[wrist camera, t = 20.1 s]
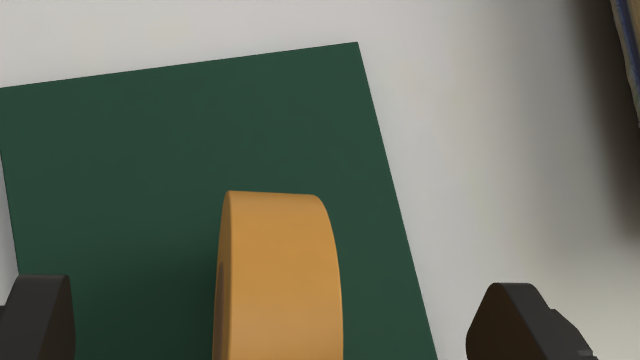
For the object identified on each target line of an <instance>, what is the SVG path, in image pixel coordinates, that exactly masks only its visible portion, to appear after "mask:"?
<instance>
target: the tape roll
mask: <svg viewBox="0 0 640 360" xmlns="http://www.w3.org/2000/svg"><path fill="white" fill-rule="evenodd" d="M212 360H343V313H342V296H341V284H340V273H339V265H338V258H337V251H336V246H335V240H334V235H333V231H332V227H331V223H330V220H329V217H328V214H327V211H326V209H325V207H324V205H323V203H322V201H321V200H320V199H319V198H318V197H317V196H315V195H310V194H290V193H270V192H249V191H227V192H226V194H225V197H224V202H223V208H222V216H221V225H220V235H219V246H218V259H217V273H216V288H215V306H214V326H213V349H212Z"/></svg>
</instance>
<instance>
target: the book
mask: <svg viewBox="0 0 640 360" xmlns="http://www.w3.org/2000/svg"><path fill="white" fill-rule="evenodd" d="M610 2H611V4H612V11H613V15H614V16H613V17H614V21H615V25H616V29H617V33H618V34H619V38H620V41H621V45H622V48H621V50H622V52H623V53H624V58H625V63H626V67H625V68H626V73H627V79H628V82H629V84H630V87H631V90H632V97H633V103H634V105H635V108H636V112H637V118H638V126H639V128H640V0H610Z"/></svg>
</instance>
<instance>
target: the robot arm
mask: <svg viewBox="0 0 640 360" xmlns="http://www.w3.org/2000/svg"><path fill="white" fill-rule="evenodd" d="M75 345H76V332H75V323H74V313H73V304H72V294H71V285H70V279H69V276H68V275H57V274H20V275H19V276H18V277H17V279H16V280H15V282H14V285H13V287H12V290H11V292H10V294H9V297H8V299H7V302H6V304H5V306H0V360H74V356H75ZM466 354H467V359H468V360H598V359H597V357H596V356H593V351H592V350H591V348H590V347H589V345H588V344H587V342H586V341H585V339H584V338H583V336H582V335H581V334H580V332H579V331H578V329H577V328H576V327H575V326H573V325H572V324H571V323H570V322H569V321H568V320H567V319H566V318H564V317H563V316H562V315H561V314H560V313H559V312H558V311H557V310H555V309H550V308H549V307H548V305H547V304H546V302H545V301H544V299H543V298H542V296H541V295H540V293H539V292H538V290H537V289H536V288H535V287H534V286H533V285H532V284H529V283H493V284H491V285H490V286H489V287H488V289H487V291H486V293H485V295H484V298H483V300H482V302H481V304H480V306H479V308H478V310H477V313H476V315H475V317H474V319H473V321H472V323H471V326H470V328H469V330H468V332H467V336H466Z"/></svg>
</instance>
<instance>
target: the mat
mask: <svg viewBox="0 0 640 360" xmlns="http://www.w3.org/2000/svg"><path fill="white" fill-rule="evenodd" d="M0 154H1V160H2V167H3V173H4V180H5V186H6V193H7V200H8V206H9V213H10V219H11V226H12V232H13V239H14V245H15V252H16V259H17V265H18V272H19V275H20V274H57V275H68V276H69V279H70V285H71V294H72V304H73V313H74V323H75V332H76V345H75V356H74V360H212V349H213V326H214V306H215V288H216V273H217V259H218V246H219V235H220V225H221V216H222V208H223V202H224V197H225V194H226V192H227V191H249V192H270V193H290V194H310V195H315V196H317V197H318V198H319V199H320V200H321V201H322V203H323V205H324V207H325V209H326V211H327V214H328V217H329V220H330V223H331V227H332V231H333V235H334V240H335V246H336V251H337V258H338V265H339V273H340V284H341V296H342V313H343V360H438V359H437V355H436V351H435V347H434V343H433V339H432V335H431V331H430V327H429V323H428V319H427V315H426V311H425V307H424V303H423V299H422V295H421V291H420V287H419V283H418V279H417V275H416V271H415V267H414V263H413V259H412V256H411V252H410V248H409V244H408V240H407V236H406V232H405V228H404V224H403V220H402V216H401V212H400V208H399V204H398V200H397V196H396V192H395V188H394V184H393V180H392V176H391V172H390V168H389V164H388V160H387V156H386V152H385V148H384V144H383V140H382V136H381V132H380V128H379V124H378V121H377V117H376V113H375V109H374V105H373V101H372V97H371V93H370V89H369V85H368V81H367V77H366V73H365V69H364V65H363V61H362V57H361V53H360V49H359V45H358V42H352V43H344V44H336V45H328V46H321V47H313V48H305V49H297V50H290V51H282V52H274V53H266V54H259V55H251V56H243V57H236V58H228V59H220V60H212V61H205V62H197V63H189V64H181V65H174V66H166V67H158V68H150V69H143V70H135V71H127V72H119V73H112V74H104V75H96V76H88V77H81V78H73V79H65V80H57V81H50V82H42V83H34V84H26V85H19V86H11V87H3V88H0Z"/></svg>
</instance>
